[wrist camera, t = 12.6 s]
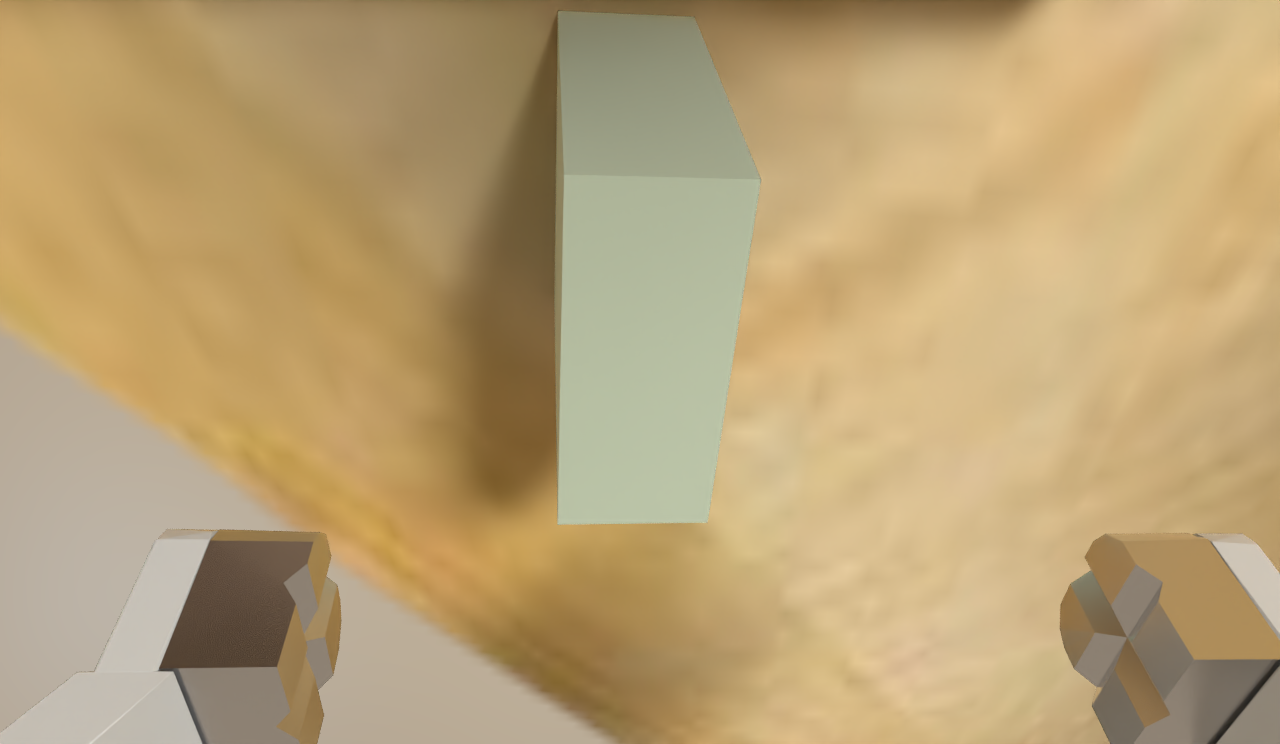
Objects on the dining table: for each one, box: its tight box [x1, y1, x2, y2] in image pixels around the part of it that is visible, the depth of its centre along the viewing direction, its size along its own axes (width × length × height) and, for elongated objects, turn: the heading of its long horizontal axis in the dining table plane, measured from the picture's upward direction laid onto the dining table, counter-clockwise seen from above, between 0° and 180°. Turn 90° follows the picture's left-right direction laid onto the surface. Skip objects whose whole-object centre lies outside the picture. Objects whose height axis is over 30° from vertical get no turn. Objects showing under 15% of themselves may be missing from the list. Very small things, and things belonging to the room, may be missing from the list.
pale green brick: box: [554, 11, 761, 525], centre depth 16 cm, size 2×6×6 cm, turn 177°
